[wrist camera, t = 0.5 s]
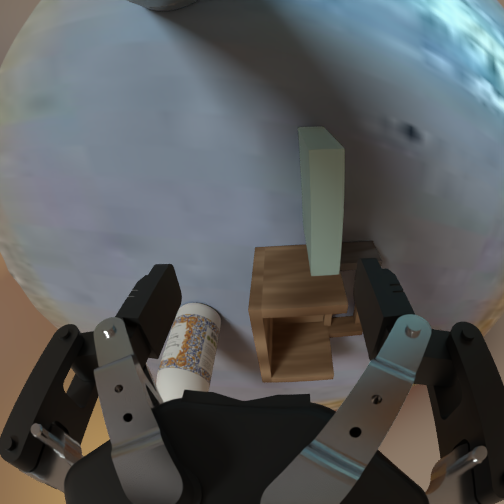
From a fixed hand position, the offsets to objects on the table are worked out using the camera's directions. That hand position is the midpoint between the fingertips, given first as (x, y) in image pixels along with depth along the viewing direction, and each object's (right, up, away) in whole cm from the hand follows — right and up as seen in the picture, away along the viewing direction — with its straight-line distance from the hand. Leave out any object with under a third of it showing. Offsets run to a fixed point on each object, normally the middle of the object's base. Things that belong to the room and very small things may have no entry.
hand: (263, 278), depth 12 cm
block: (+6, +9, +16) cm, 19 cm away
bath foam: (-8, -9, +30) cm, 32 cm away
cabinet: (+8, -4, +25) cm, 26 cm away
